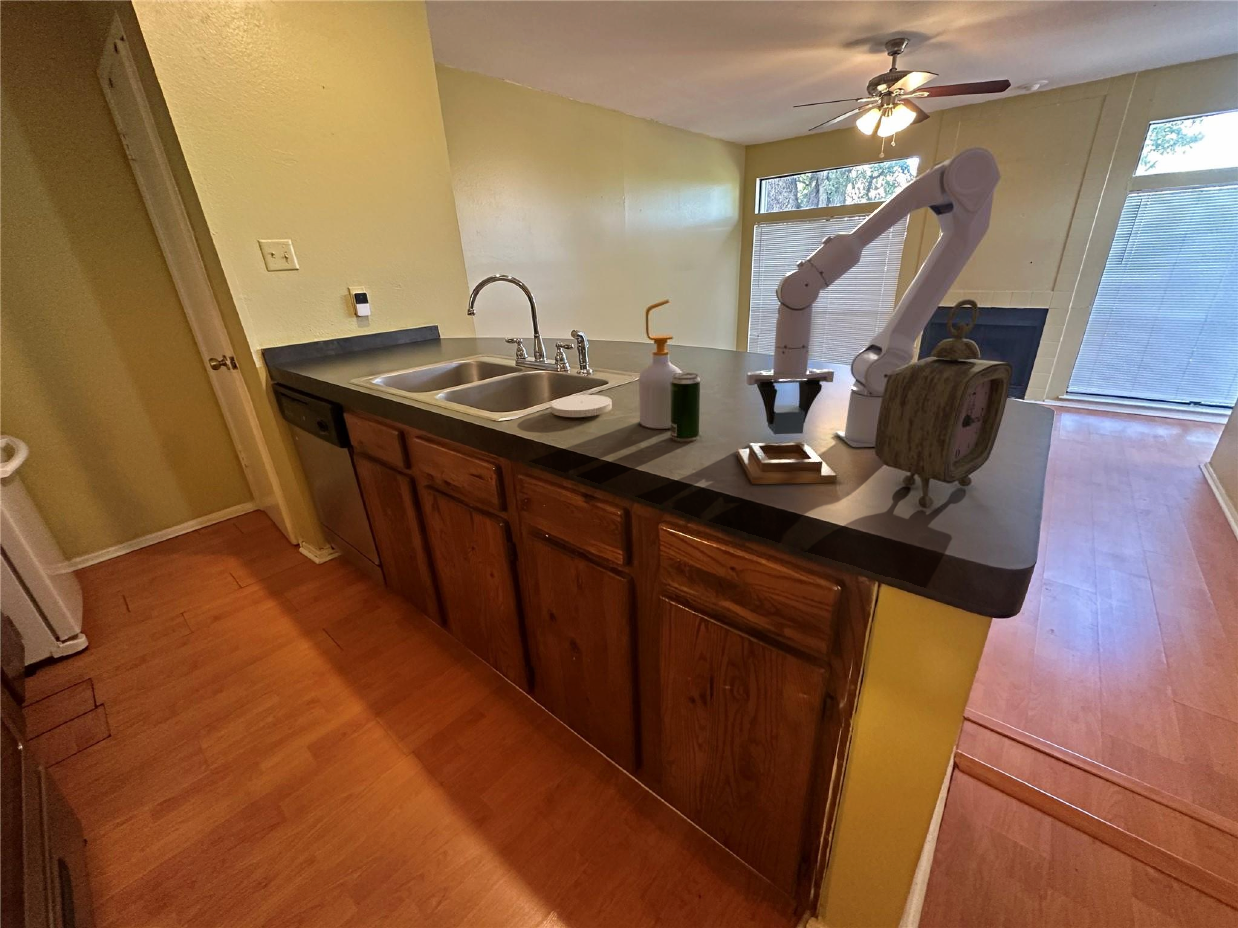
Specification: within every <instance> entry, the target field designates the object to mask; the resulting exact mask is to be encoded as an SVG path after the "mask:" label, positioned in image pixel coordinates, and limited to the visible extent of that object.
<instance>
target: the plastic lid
mask: <svg viewBox="0 0 1238 928" xmlns="http://www.w3.org/2000/svg"><path fill="white" fill-rule="evenodd" d="M612 408H613V400H612V399H611V398H610V397H608V396H605V395H597V394H580V395H579V394H577V395H571V396H570V395H569V396H565V397H560V398H557V399H555V400H553V401H552V402H551V403H550V411H551V413H552V414H554V415H556V416H560V417H567V418H583V417H593V416H597V415H602V414H605V413H607V412H609V411H611V410H612Z"/></svg>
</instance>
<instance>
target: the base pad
mask: <svg viewBox="0 0 1238 928" xmlns="http://www.w3.org/2000/svg"><path fill="white" fill-rule="evenodd" d="M736 449H737V450H736V456H737V458H738V460H739V462H740V463H741V465H742V467H743V469H744V471H745V473H746V475H747V476H748V479H749V480H750V482H751V484H752V485H777V484H778V485H780V484H782V485H783V484H824V483H825V484H827V483H829V484H830V483H833V484H834V483H837V478H838V475H837V474H836V472H834V471H833V470H832V469H831V467H830V466H829V465H828V464H826V462H825V461H824V460H823V459H822V458H821V457H820V456H819V455H818V454H817V453H816V452H815V451H814V450H813V449H812V448H811V447H810V446H808V445H807V443H806V442H804V441H801V442H800V441H794V442H793V441H792V442H790V441H789V442H756V443H753V442H752V443H749V448H736Z"/></svg>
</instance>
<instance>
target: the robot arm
mask: <svg viewBox="0 0 1238 928" xmlns="http://www.w3.org/2000/svg"><path fill="white" fill-rule="evenodd" d="M1001 178H1002V175H1001V172H1000V169H999V166H998V164H997V160H996V158H995V156H994V154H993V152H991V151H990V150H988V149H987V148H984V147H980V146H974V147H969V148H966V149H964V150H962V151H960V152H958V153H957V154H956V155H954V156H952V157H950V158H948V159H945V160H941V161H939V162H937V163H934V164H933V165H932V166H931V167H930V168H929V169H928V170H927V171H925V172H924V173H921V174H920V175H918V176H917V177H915V178H913V179H912V180H911V181H909V182H908V183H907V184H905V185H903V187H901V188H900V189H899V190H898V191H896V192H895V193H894V194H893V195H892V196H891V197H890V198H889V199H888V200H886V201H885V202H884V203H883V204H881V206H880V207H878V208H877V209H876V210H875V211H874V212H873V213H872V214H870V215H869V216H868V217H867V218H865V220H864V221H862V222H861V223H860V224H859V225H858V226H857V227H856V228H854V229H853V230H852V231H851V232H850V233H847V232H845V233H843V232H839V233H838V232H837V233H836V234H835V235H833V236H831V235H828V236H826V237H825V238H824V239H822V241H821V247H819V248H818V249H817V250H815V251H814V252H813V253H812V254H811V255H810V256H808V257H807V258H806V259H805V260H799V261H798V262H797V263H796V264H795V266H796V268H797V270H794V271H790V272H788V273H787V274H785V275H784V276H783V277H782V278H781V279H780V281H779V283H778V285H777V288H776V289H775V296H776V299H777V301H778V307H777V318H776V323H775V335H774V348H773V349H774V351H773V365H772V369H767V370H761V371H760V370H759V371H748V372H746V381H745V382H746V385H748V386H755V385H756V386H757V389H758V391H759V395H760V396H761V400H762V403H763V407H764V410H765V416H766V423H767V424H768V423H769V424H773V421H774V406H775V405H776V399H777V394H778V390H777V388H776V385H775V384H793V383H794V384H795V383H796V384H797V383H798V406H799V407H800V408H801V409H802V410H803V411H805V417H804V424H805V423H806V419H807V417H808V414H809V412H810V409H811V407H812V405H813V404H814V401H815V400H816V398H817V397H818V396H819V394H820V393H821V391H822V389H823V385H822V384H821V383H824V382H825V383H834V377H835V371H834V370H832V369H830V368H826V369H825V368H822V369H821V368H819V369H818V368H809V361H810V360H809V359H810V349H811V340H812V339H811V338H812V330H813V329H812V327H813V317H812V316H813V308H814V304H815V302H816V301H817V300H818V298H819V296H820V292H821V291H824V290H826V289H827V288H829V287H831V285H832V284H834V283H835V282H836V281H837V280H839V279H840V278H841V277H843V276H844V275H845V274H846V273H847V272H849V271H851V270H852V269H853V268H854V267H855V266H856V265H858V264H859V263H860V262H861V258H862V254H863V250H864V249H865V248H866V247H867V246H869V245H870V244H872V243H873V242H875V241H876V240H877V239H878V238H880V236H882V235H884V233H886V232H887V231H888V230H891V228H893V227H894V226H896V224H899V222H901V221H902V220H903V219H905V218H906V217H907V216H909V215H910V214H911V213H913V212H914V211H918V210H921V209H924V208H928V209H929V210H930V211H931V212H932V213H933V215H934V216H935V217H936V219H937V222H938V225H939V229H940V231H941V235H940V236H939V238H938V240H937V242H936V243H935V245H934V246H933V248H932V249H931V251H930V253H929V254H928V256H927V257H926V259H925V260H924V262H923V264H922V266H921V267H920V269H919V270H918V272H917V274H916V275H915V277H914V279H913V280H912V281H911V283H910V285H909V287H908V288H907V290H906V291H905V293H904V295H903V296H902V298H901V300H900V302H899V303H898V304H897V306H896V307H895V309H894V311H893V313H892V314H891V315H890V317H889V319H888V320H887V323H886V324H885V326H884V327H883V329H882V330H881V331H879V332H878V333H877V334H876V335H875V336H873V338H871V340H870V341H869V343H868V344H867V346H866V347H865V348H864V349H862V350H860V351H859V352H858V353H857V354H856V355H855V356H854V357H853V359H852V360H851V363H850V374H851V376H852V377H853V379H854V380H855V381H854V383H853V384H852V386H851V387H850V393H849V401H848V408H847V414H846V415H847V416H846V422H845V428H844V429H845V430H836V431H835V434H836V436H838V437H839V438H841V439H842V440H843V441H844V442H846V444H848V445H849V446H850V447H852V448H875V439H876V431H877V424H878V417H879V411H880V406H881V401H882V396H883V392H884V388H885V384H886V381H887V378H888V376H889V375H890V374H891V373H892V372H893V371H894V370H896V369H898V368H900V367H903V366H906V365H908V364H911V363H912V360H913V359H914V357H915V343H916V341H917V339H918V338H919V337H920V335H921V333H922V332H923V331H924V329H925V328H926V326H927V324H928V323H929V322H930V319H931V318H932V316H933V315H934V313H935V312H936V311H937V310H938V307H939V306H940V305H941V303H942V301H943V300H944V298H945V297H946V295H947V294H948V292H949V291H950V289H951V288H952V286H953V284H955V281H956V280H957V278H958V277H959V275H960V274H961V272H962V271H963V269H964V268H965V266H966V265H967V264H968V262H969V260H970V259H971V257H972V256H973V254H974V252H975V251H976V249H977V248H978V246H979V245H980V243H981V241H982V240H983V239H984V238H985V235H986V234H987V232H988V230H989V228H990V222H991V216H992V209H993V201H994V194H995V190H996V188H997V187H998V184H999V182H1000V180H1001Z"/></svg>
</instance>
